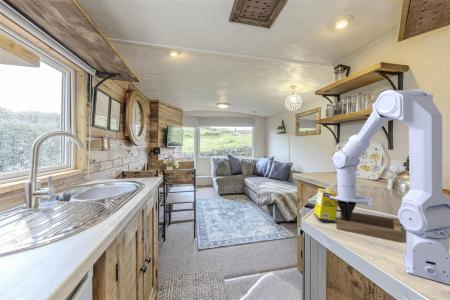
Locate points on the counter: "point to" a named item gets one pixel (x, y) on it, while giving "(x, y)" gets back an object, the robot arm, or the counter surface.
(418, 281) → the counter surface
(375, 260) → the counter surface
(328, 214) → the supplement box
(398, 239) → the brown wooden tray
